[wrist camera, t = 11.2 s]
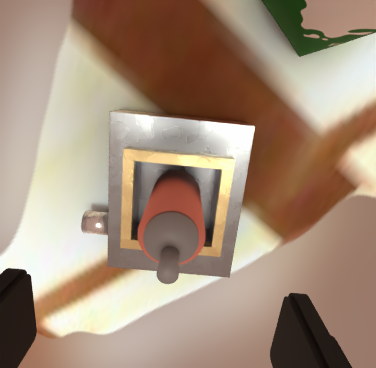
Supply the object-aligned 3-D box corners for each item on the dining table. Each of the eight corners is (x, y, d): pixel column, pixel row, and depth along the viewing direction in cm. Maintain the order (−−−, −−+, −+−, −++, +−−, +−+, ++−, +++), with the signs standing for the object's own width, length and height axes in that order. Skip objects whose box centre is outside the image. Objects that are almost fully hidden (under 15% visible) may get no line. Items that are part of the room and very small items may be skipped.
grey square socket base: (91, 106, 28) (71, 108, 24) (246, 122, 29) (257, 127, 24) (92, 244, 33) (75, 269, 28) (224, 256, 34) (230, 283, 29)
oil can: (154, 167, 29) (130, 218, 17) (202, 171, 29) (212, 225, 17) (152, 211, 31) (128, 288, 18) (197, 215, 31) (204, 294, 18)
